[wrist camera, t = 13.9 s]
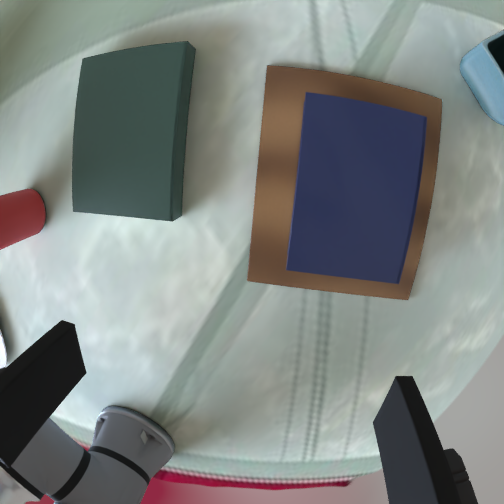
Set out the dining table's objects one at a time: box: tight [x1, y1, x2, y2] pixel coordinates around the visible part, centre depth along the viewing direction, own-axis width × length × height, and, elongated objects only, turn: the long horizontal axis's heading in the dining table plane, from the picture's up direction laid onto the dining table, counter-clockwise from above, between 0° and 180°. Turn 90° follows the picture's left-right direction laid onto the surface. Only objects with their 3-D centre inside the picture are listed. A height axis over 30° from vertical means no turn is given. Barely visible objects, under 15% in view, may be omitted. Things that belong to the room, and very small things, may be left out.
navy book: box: [286, 92, 427, 284], centre depth 25 cm, size 15×10×4 cm
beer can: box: [0, 189, 46, 250], centre depth 28 cm, size 7×7×12 cm
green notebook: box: [72, 41, 196, 221], centre depth 27 cm, size 18×13×2 cm
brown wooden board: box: [247, 65, 442, 300], centre depth 27 cm, size 22×18×1 cm
